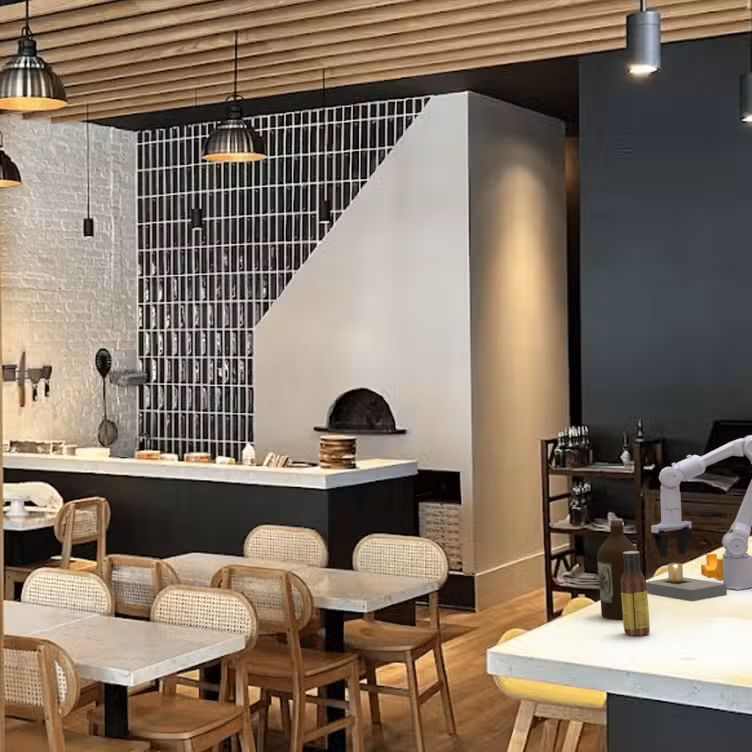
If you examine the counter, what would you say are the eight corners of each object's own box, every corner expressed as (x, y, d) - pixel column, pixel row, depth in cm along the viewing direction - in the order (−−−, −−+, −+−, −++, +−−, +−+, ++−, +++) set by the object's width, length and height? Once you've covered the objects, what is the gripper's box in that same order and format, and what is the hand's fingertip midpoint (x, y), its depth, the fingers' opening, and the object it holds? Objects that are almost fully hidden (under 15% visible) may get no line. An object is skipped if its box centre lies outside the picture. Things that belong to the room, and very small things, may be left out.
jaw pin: (677, 590, 358) (676, 562, 358) (686, 592, 355) (685, 564, 355) (665, 592, 356) (664, 564, 356) (675, 594, 353) (674, 565, 353)
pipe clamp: (701, 575, 384) (700, 554, 384) (715, 574, 384) (714, 553, 384) (714, 581, 372) (713, 559, 372) (728, 580, 372) (727, 559, 372)
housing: (678, 586, 364) (678, 576, 364) (726, 594, 349) (726, 583, 349) (643, 592, 356) (643, 582, 356) (691, 601, 341) (691, 590, 341)
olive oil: (628, 611, 330) (625, 516, 330) (648, 618, 320) (645, 520, 320) (591, 614, 327) (588, 519, 327) (611, 622, 317) (607, 523, 317)
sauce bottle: (651, 631, 304) (648, 550, 304) (648, 637, 298) (645, 553, 298) (624, 630, 306) (621, 549, 306) (620, 636, 300) (617, 553, 300)
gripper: (678, 505, 370) (679, 551, 370) (642, 509, 362) (644, 556, 362) (696, 507, 364) (697, 553, 364) (660, 511, 356) (662, 559, 356)
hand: (672, 555), depth 363 cm, fingers open, 7 cm apart
